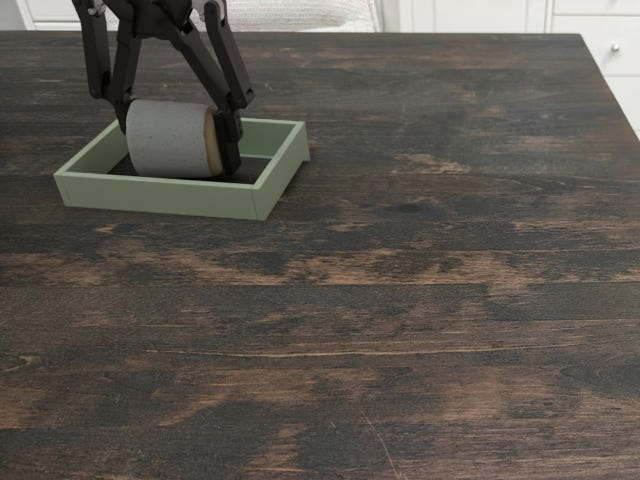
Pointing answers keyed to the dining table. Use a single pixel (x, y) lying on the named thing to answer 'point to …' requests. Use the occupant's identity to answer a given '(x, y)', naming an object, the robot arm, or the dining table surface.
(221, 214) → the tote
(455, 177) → the dining table surface
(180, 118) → the ceramic mug
